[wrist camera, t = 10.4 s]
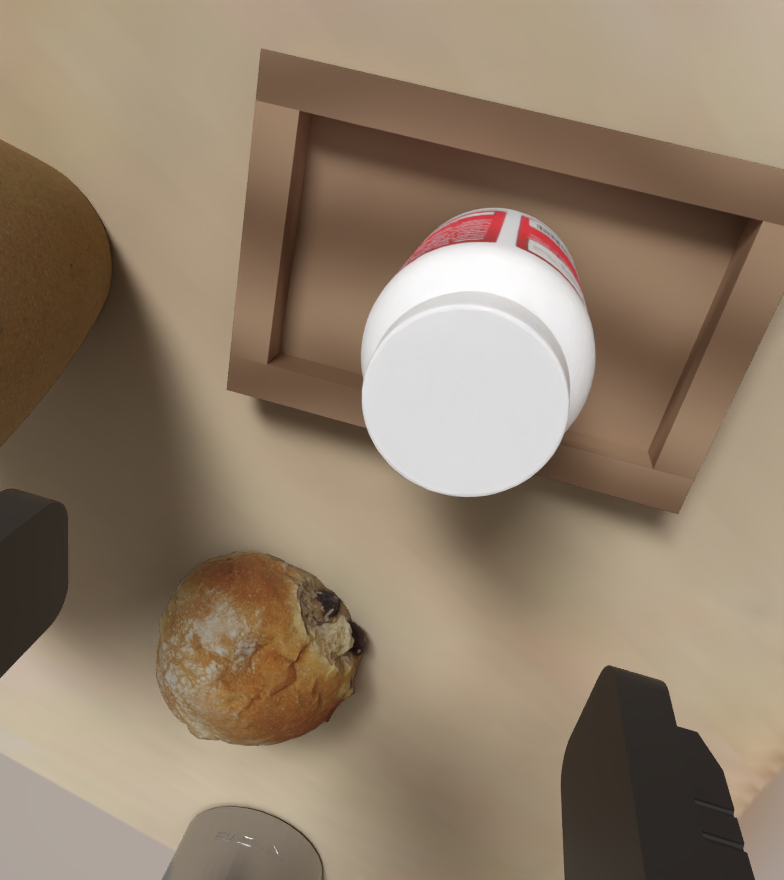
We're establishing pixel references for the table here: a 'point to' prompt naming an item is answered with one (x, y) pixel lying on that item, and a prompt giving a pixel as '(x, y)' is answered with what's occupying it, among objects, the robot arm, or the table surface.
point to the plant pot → (44, 279)
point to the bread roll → (255, 650)
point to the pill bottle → (477, 355)
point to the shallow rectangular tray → (530, 192)
